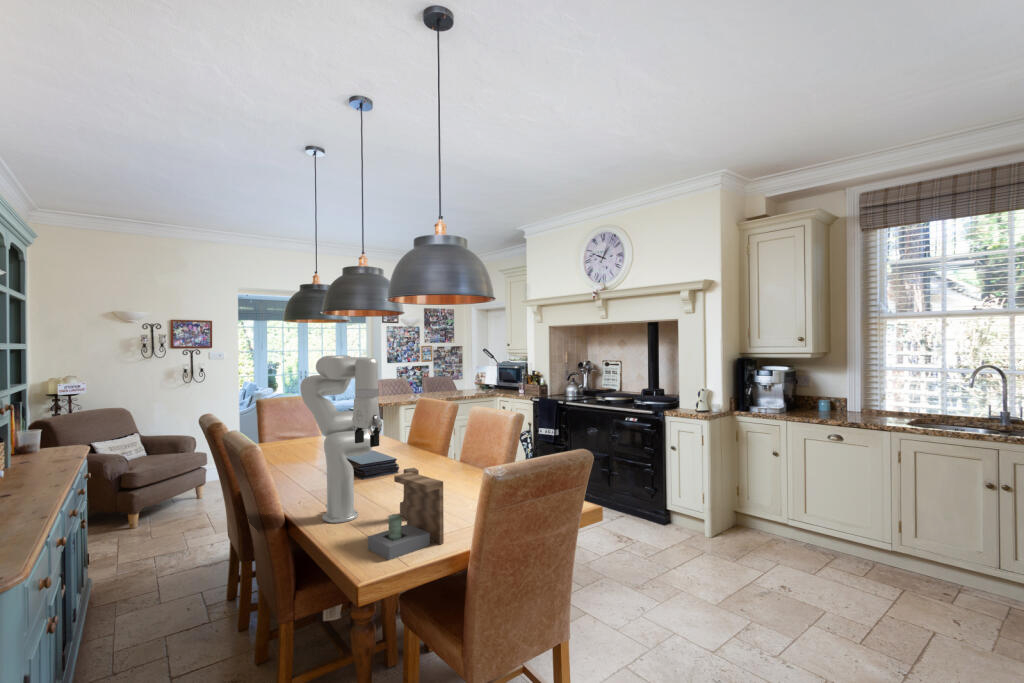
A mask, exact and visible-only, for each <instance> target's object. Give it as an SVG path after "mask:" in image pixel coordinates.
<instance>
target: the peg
mask: <svg viewBox="0 0 1024 683" xmlns="http://www.w3.org/2000/svg"><path fill="white" fill-rule="evenodd" d="M387 519H388V530H389V540H392V541H394V540H397V539H400V538H402V526H403V525H402V515H401V514H393V515H390V516H388V518H387Z"/></svg>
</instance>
